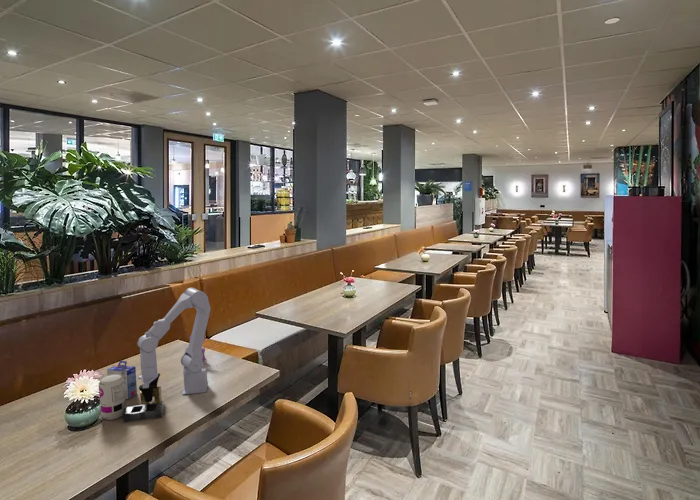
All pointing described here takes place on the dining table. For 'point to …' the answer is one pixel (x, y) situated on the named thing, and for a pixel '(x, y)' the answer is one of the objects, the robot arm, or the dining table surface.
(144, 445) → the dining table surface
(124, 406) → the supplement can
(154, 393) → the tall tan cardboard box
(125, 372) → the ink cartridge box
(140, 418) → the rail
